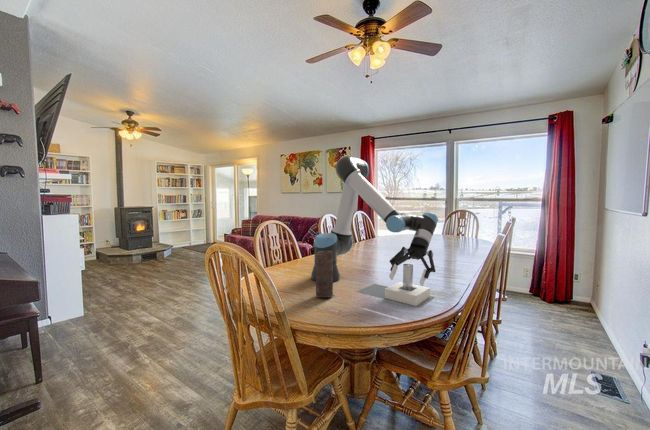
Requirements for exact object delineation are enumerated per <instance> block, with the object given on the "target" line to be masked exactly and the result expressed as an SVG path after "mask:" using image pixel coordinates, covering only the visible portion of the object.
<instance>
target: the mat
mask: <svg viewBox="0 0 650 430" xmlns="http://www.w3.org/2000/svg"><path fill="white" fill-rule="evenodd" d="M388 287H389V286H386V285H383V284H377V283H373V284H370V285H368V286H366V287H364V288H361V289H358V290H357V291H356V293H360V294H364V295H367V296H368V295H369V296H371V297H375V298H380V299H384V300H387V301H392V302H394V303H400V304H402V305H403V304H404V305H406V306H411V307H414V308H419V309H421V308H422V307H424V306H426V305H427V304H428V303H429V302H432V301H433V300H434V299H435V298H436V296H431V295H430V297H429V298H428V299H426V300H425V301H423V302H422V303H420V304H419V305H417V306H415V305H411V304H407V303H403V302H399V301H395V300H391V299H387V298H385V288H388Z"/></svg>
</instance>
